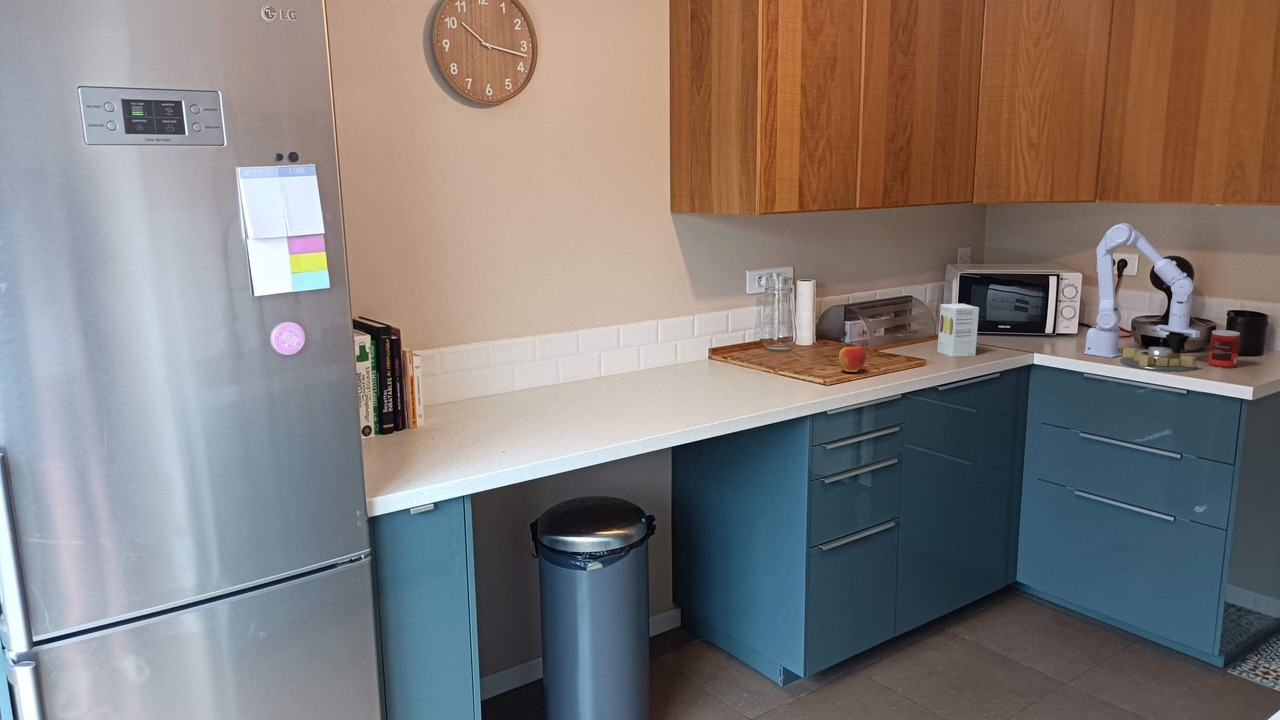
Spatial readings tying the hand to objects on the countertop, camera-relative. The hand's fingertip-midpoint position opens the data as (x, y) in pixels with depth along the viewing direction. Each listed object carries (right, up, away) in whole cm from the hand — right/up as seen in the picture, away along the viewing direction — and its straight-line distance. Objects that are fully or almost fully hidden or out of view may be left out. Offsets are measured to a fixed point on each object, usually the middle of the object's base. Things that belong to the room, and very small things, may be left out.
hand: (1175, 356), depth 296 cm
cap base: (-8, -3, -4) cm, 9 cm away
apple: (-109, -5, -13) cm, 110 cm away
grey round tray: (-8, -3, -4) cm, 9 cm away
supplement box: (-66, +1, +15) cm, 68 cm away
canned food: (+11, -3, -6) cm, 13 cm away
